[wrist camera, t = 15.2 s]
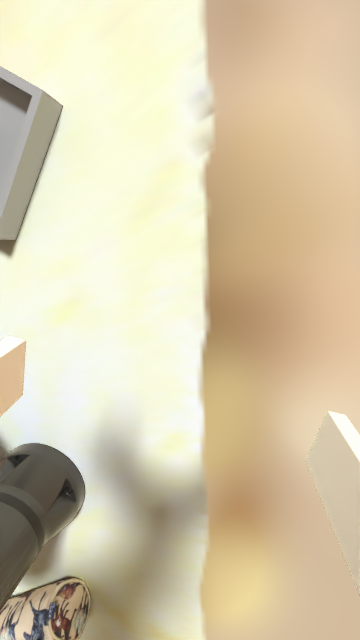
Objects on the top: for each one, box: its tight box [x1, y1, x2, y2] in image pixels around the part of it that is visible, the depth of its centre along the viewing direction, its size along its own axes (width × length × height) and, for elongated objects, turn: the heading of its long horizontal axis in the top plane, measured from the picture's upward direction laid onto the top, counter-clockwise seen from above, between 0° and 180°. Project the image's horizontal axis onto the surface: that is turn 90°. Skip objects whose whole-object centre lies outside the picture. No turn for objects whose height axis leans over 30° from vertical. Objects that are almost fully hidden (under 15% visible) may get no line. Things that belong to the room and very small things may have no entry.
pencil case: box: [0, 578, 90, 640], centre depth 55 cm, size 22×8×10 cm, turn 123°
